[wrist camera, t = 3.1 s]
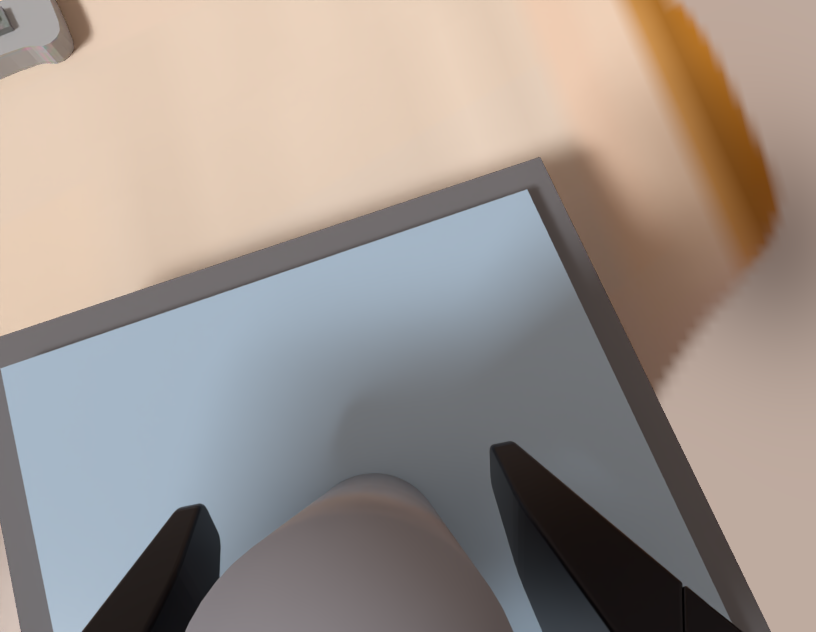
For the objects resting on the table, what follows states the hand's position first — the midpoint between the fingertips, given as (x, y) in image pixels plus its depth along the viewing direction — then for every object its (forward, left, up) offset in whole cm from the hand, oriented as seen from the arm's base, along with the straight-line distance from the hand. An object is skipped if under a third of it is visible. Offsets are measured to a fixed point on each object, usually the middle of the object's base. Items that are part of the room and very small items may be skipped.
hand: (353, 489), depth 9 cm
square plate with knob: (-1, 0, -3) cm, 3 cm away
